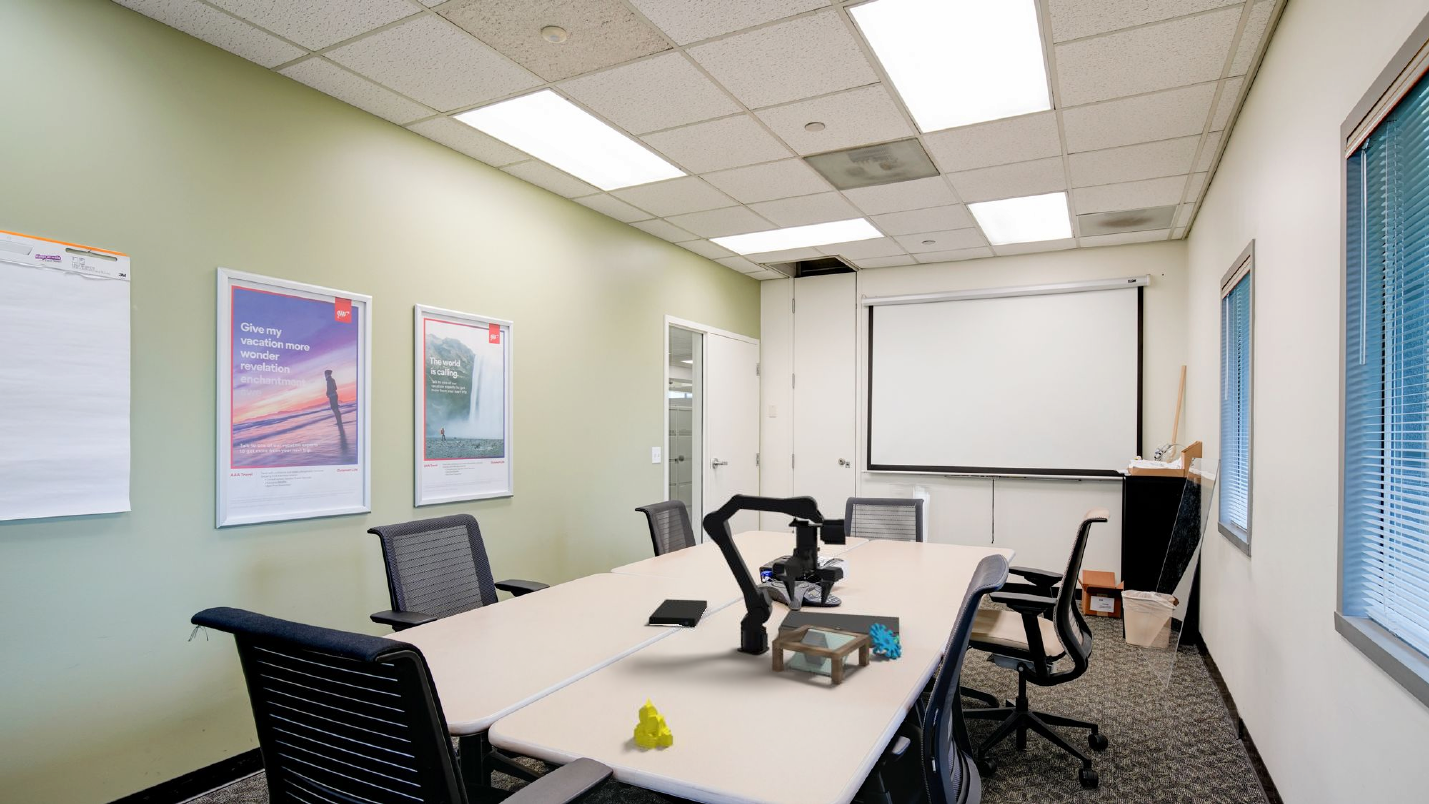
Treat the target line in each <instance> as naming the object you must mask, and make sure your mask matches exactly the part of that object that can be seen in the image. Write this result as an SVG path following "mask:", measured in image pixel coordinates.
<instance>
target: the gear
mask: <svg viewBox="0 0 1429 804" xmlns="http://www.w3.org/2000/svg"><path fill="white" fill-rule="evenodd" d="M880 628H881V630H880V629H879V624H877V623H875V624H874V626H871V627H870V628H869V629H870V630H871V632H870V633H869V636H871V637H873V638H874V639H873V640H872V643H873V644H874V645H875V644H878V645H877V646H874V648H873V649H872V650H871V651H872V652H873V654H875V653H877V652H880V653H882V652H883V651H886V652H885V653H884V655H885V657H887V658H890V657H891V658H893V659H897V658H898V657H899V656H901V655H902V651H901V650H902V649H903V647H902V645H901V644H900V645H899V644H897V642H898V641H899V642H900V640H901V637H900V635H899V636H896V637H892V636H891V635H892V634H893V632H892V631H891V630H889V631H888V632H885V631H884V630H885V629H886V627H885V626H884V625H883V624H882V625H881V626H880Z"/></svg>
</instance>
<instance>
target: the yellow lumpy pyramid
mask: <svg viewBox="0 0 1429 804" xmlns="http://www.w3.org/2000/svg"><path fill="white" fill-rule="evenodd" d="M658 712H659V711H658V710H657V708H656V707H655V706H654V705H653V704H652V701H651V700H650V698H648V699H647V701H646V703H645V705H643V706H642V707H641V708H640V709H638V720H639V723H637V724H636V727H635V728H634V729H633V738H635V745H637V746H640V747H643V748H646V749H650V750H653V749H655V748H656V747H658V746H662V747H664V748H670V747H671V746H672V745H674V735H673V734H672V732H671V729H669V727H668V725H667V723H666V720H665V716H664V714H658Z"/></svg>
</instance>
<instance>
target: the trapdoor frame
mask: <svg viewBox="0 0 1429 804" xmlns="http://www.w3.org/2000/svg"><path fill="white" fill-rule="evenodd" d="M809 629H814V630H820V631H826V632H831V633H837V634H843V635H849V636H855V637H856V638H854V639H853V640H851V641H849V642H847V643H846V644H844V645H842V646H841V647H839V648H837V649H836V650H832V649H827V648H822V647H816V646H811V645H805V644H800V643H801V642H800V643H799V642H796V641H795V640H797V639H799V638H801V637H802V640H803V638H804V637H805V635H806V633H807V632H808V630H809ZM785 650H786V651H790V652H794V653H795V652H799V653H805V654H810V655H815V656H820V657H825V658H830V659H831V676H830V678H831V681H830V683H831V682H833V683H832V684H835V683H836V684H835V685H841V684H842V683H843V682H844V677H843V676H844V666H843V657H845V656H847V655H848V654H849V655H850V654H851V653H853V652H855V651H857V650H858V665H859V664H861V665H860V666H864V667H865V666H866V667H867V666H869V665H870V646H869V635H863V634H857V633H851V632H845V631H839V630H833V629H827V628H822V627H816V626H810V625H804V626H802V627H800V628H798V629H796V630H794V631H792V632H790V633H788V634H786V635H783V636H781V637H777V638H776V639H774V640H772V641H771V661H772V662H771V670H772V671H776V672H782V671H783V670H784V651H785ZM842 681H843V682H842ZM841 682H842V683H841ZM840 683H841V684H840Z"/></svg>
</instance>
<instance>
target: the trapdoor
mask: <svg viewBox="0 0 1429 804" xmlns="http://www.w3.org/2000/svg"><path fill="white" fill-rule="evenodd" d="M808 631H813V632H819V633H825V637H826V640H827V644H828V648H829V649H832V650H836V649H837V648H839V647H841V646H842V645H844V644H846V643H847V642H849V641H851V640H853V639H854V638H856V637H855V636H849V635H843V634H837V633H831V632H826V631H820V630H814V629H809V630H808ZM800 644H801V642H800ZM849 656H850V654H848V655H847V656H845V657H843V667H844V665H845V664H846V661H847V660H848V658H849ZM787 665H788V667H789V668H790V667H791V669H796V670H800V669H801V670H800V671H805V672H809V671H811V672H810V673H814V672H815V674H820V675H823V674H826V675H825V676H828V675H830V676H829V677H831V659H830V658H827V659H826V661H825V662H824V664H823V666H822V665H817V664H812V663H807V662H806V660H805V657H804V653H799V652H794V653H793V655H792V657H791V659H790V660H789V662H788V664H787Z"/></svg>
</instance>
